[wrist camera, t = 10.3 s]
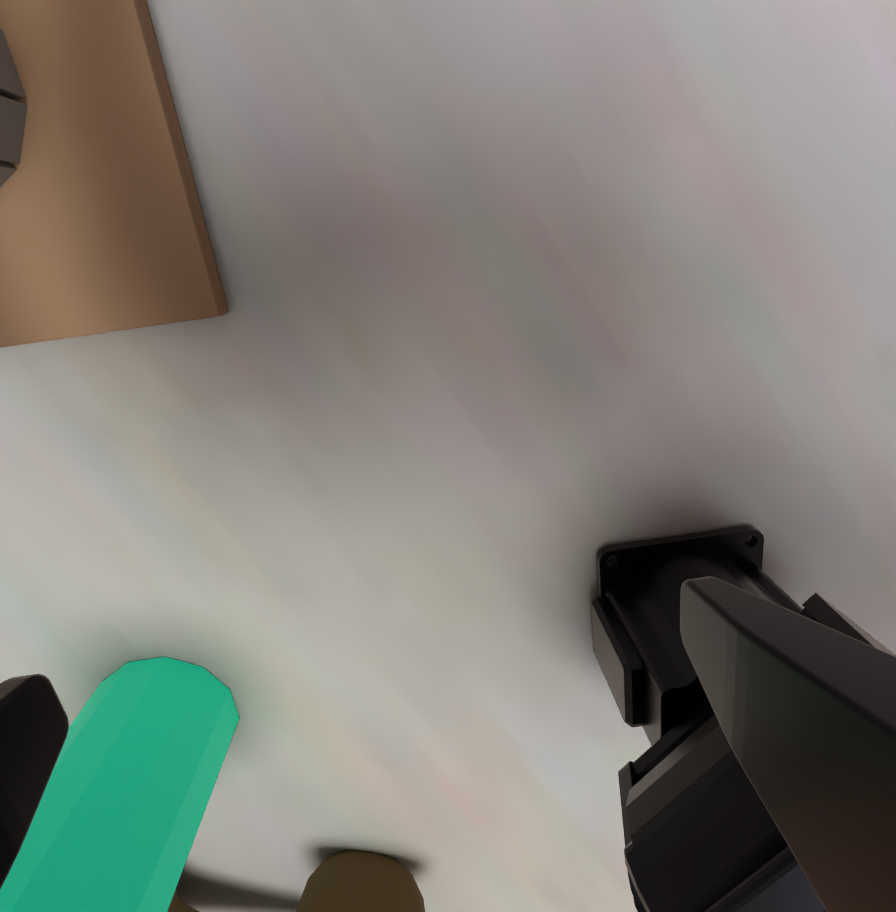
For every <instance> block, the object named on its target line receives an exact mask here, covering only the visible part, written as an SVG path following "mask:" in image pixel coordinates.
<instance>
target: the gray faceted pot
mask: <svg viewBox="0 0 896 912" xmlns="http://www.w3.org/2000/svg"><path fill="white" fill-rule="evenodd" d="M23 98H27V97H26V94H25V92H24V89H23V86H22V83H21V80H20V77H19V75H18V72H17V69H16V66H15V63H14V60H13V58H12V55H11V52H10V49H9V46H8V44H7V41H6V38H5V35H4V32H3V30H2V29H0V187H1V186H2V185H3V184H4V183H5V182H6V181H7V180H8V179H9V178H10V177H11V176H12V175H13V174H14V173H15V171H16V170H17V169H16V168H15V167H14V166H13V165H12V164H11V163H10V162H12V163H17V164H20V159H21V151H22V144H23V136H24V129H25V121H26V114H27V106H28V105H26V104H23V103H21V102H18V101H16V100H17V99H23Z"/></svg>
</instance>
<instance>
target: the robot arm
mask: <svg viewBox="0 0 896 912" xmlns="http://www.w3.org/2000/svg"><path fill="white" fill-rule="evenodd" d="M750 536H752V538H751V539H750V540H749V541H748V542H745V540H746V539H747V538H748V537H750ZM763 544H764V538H763V535H762V534H761V532H760V531H758V530H757V529H756V528H755V527H753V526H740V527H734V528H727V529H720V530H713V531H706V532H699V533H692V534H685V535H678V536H671V537H665V538H658V539H651V540H644V541H637V542H630V543H623V544H616V545H609V546H606V547H603V548H602V549H601V550H599V552H598V554H597V558H596V560H597V582H598V596H597V597H594V599H593V600H592V602H591V616H592V635H593V650H594V653H595V655H596V658H597V660H598V662H599V664H600V667H601V669H602V671H603V674H604V676H605V678H606V680H607V683H608V685H609V687H610V690H611V692H612V694H613V696H614V699H615V701H616V703H617V706H618V708H619V710H620V713H621V715H622V717H623V719H624V722H625V723H627V724H628V725H629V726H631V727H638V726H643V728H644V730H645V733H646V735H647V737H648V739H649V741H650V743H651V745H652V746H651V747H650V748H649V749H648V750H647V751H646V752H645V753H644V754H642V755H641V756H640V757H639V758H638V759H637V760H636V761H635V762H631V761H630V762H628V763H627V764H626V765H625V766H624V767H623V768H622V769H621V770H620V771H619V772H618V775H619V785H620V796H621V806H622V817H623V827H624V838H625V849H624V854H625V863H626V866H627V870H628V877H629V882H630V887H631V891H632V894H633V897H634V903H635V906H636V909H637V911H638V912H896V655H895V654H894V653H892V652H891V651H890V650H889V649H887V648H886V647H885V646H883V645H882V644H881V643H880V642H878V641H877V640H876V639H874V638H873V637H872V636H871V635H869V634H868V633H867V632H865V631H864V630H863V629H862V628H860V627H859V626H858V625H857V624H855V623H854V622H853V621H851V620H850V619H849V618H848V617H846V616H845V615H844V614H842V613H841V612H840V611H839V610H837V609H836V608H835V607H833V606H832V605H831V604H830V603H828V602H827V601H826V600H825V599H823V598H822V597H821V596H819V595H818V594H817V593H815V594H814V595H812V596H811V597H810V598H809V599H808V600H807V601H806V602H805V603H804V604H803V606H804V607H805V608H804V609H802V608H801V607H800V606H799V605H798V604H797V603H796V602H795V601H793V600H792V599H791V598H790V597H789V596H788V595H787V594H786V593H785V592H784V591H783V590H782V589H781V588H780V587H779V586H778V585H777V584H775V583H774V582H773V581H772V580H771V579H770V578H769V577H768V576H767V575H766V574H765V573H764V572H763V571H762V558H763ZM611 556H615V559H614V560H613V561H611V562H606V560H607V559H608V557H611ZM68 729H69V722H68V717H67V715H66V712H65V710H64V708H63V706H62V704H61V702H60V700H59V698H58V696H57V694H56V692H55V690H54V688H53V686H52V684H51V682H50V680H49V679H48V678H47V677H46V676H44V675H41V674H33V675H26V676H19V677H13V678H10V679H8V680H6V681H4V682H2V683H0V889H1V887H2V885H3V883H4V882H5V880H6V878H7V876H8V874H9V872H10V870H11V868H12V866H13V863H14V861H15V859H16V857H17V855H18V853H19V851H20V849H21V846H22V844H23V842H24V840H25V837H26V835H27V833H28V830H29V828H30V825H31V823H32V821H33V818H34V816H35V813H36V811H37V808H38V806H39V803H40V801H41V799H42V796H43V794H44V791H45V789H46V786H47V784H48V781H49V779H50V777H51V774H52V772H53V769H54V767H55V764H56V762H57V759H58V757H59V755H60V752H61V750H62V747H63V745H64V742H65V740H66V737H67V734H68Z"/></svg>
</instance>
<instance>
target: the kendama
mask: <svg viewBox="0 0 896 912" xmlns="http://www.w3.org/2000/svg"><path fill="white" fill-rule="evenodd" d="M167 912H199V911H197V910H195V909H193V908H192V907H190V906H188V905H187V904H185V903H184V902H183V901H182V900H181V899H180V897H179V895H178V894H177V891H176V890H175V892H174V895H173V898H172V900H171V903H170V906H169V908H168V911H167ZM297 912H425V908H424V900H423V897H422V895H421V893H420V890H419V888H418V886H417V884H416V882H415V880H414V878H413V875H412V874H411V873H410V872H409V871H407V870H406V869H405V868H404V867H403V866H402V865H400V864H399V863H398V862H397V861H396V860H395V859H393V858H391V857H388V856H384V855H380V854H376V853H372V852H362V851H350V850H346V851H343V852H341V853H338V854H336V855H333V856H331V857H328V858H326V859H325V860H324V861H323V862H322V863H321V864H320V866H319V867H318V868H317V869H316V870H315V871H314V873H313V874H312V875H311V876H310V877H309V879H308V881H307V884H306V886H305V889H304V892H303V894H302V897H301V900H300V903H299V905H298V908H297Z"/></svg>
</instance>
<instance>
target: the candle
mask: <svg viewBox="0 0 896 912" xmlns="http://www.w3.org/2000/svg"><path fill="white" fill-rule="evenodd" d="M239 718H240V717H239V714H238V711H237V708H236V706H235V703H234V700H233V697H232V694H231V691H230V689H229V688H227V687H226V686H225V685H224V684H223V683H222V682H220V681H219V680H218V679H217V678H216V677H214V676H213V675H212V674H211V673H210V672H208V671H207V670H206V669H205V668H204V667H201V666H197V665H194V664H190V663H186V662H183V661H179V660H175V659H172V658H168V657H160V658H153V659H146V660H139V661H132V662H127V663H126V664H125V665H123V666H122V667H121V668H119V669H118V670H117V671H115V672H114V673H113V674H111V675H110V676H109V677H107V678H106V679H105V680H103V681H102V682H101V684H100V685H99V687H98V688H97V689H96V691H95V692H94V693H93V695H92V696H91V698H90V699H89V700H88V702H87V703H86V705H85V706H84V707H83V709H82V710H81V712H80V713H79V714H78V716H77V717H76V719H75V720H74V721H73V723H72V724H71V726H70V727H69V729H68V734H67V737H66V740H65V742H64V745H63V747H62V750H61V752H60V755H59V757H58V759H57V762H56V764H55V767H54V769H53V772H52V774H51V777H50V779H49V781H48V784H47V786H46V789H45V791H44V794H43V796H42V799H41V801H40V803H39V806H38V808H37V811H36V813H35V816H34V818H33V821H32V823H31V825H30V828H29V830H28V833H27V835H26V837H25V840H24V842H23V844H22V846H21V849H20V851H19V853H18V855H17V857H16V859H15V861H14V863H13V866H12V868H11V870H10V872H9V874H8V876H7V878H6V880H5V882H4V883H3V885H2V887H1V889H0V912H167V911H168V908H169V906H170V903H171V900H172V898H173V895H174V892H175V890H176V887H177V884H178V881H179V879H180V876H181V873H182V871H183V868H184V865H185V863H186V860H187V857H188V855H189V852H190V849H191V847H192V844H193V841H194V839H195V836H196V833H197V830H198V828H199V825H200V822H201V820H202V817H203V814H204V812H205V809H206V806H207V804H208V801H209V798H210V796H211V793H212V790H213V788H214V785H215V782H216V780H217V777H218V774H219V771H220V769H221V766H222V763H223V761H224V758H225V755H226V753H227V750H228V747H229V745H230V742H231V739H232V737H233V734H234V731H235V729H236V726H237V723H238V721H239Z"/></svg>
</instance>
